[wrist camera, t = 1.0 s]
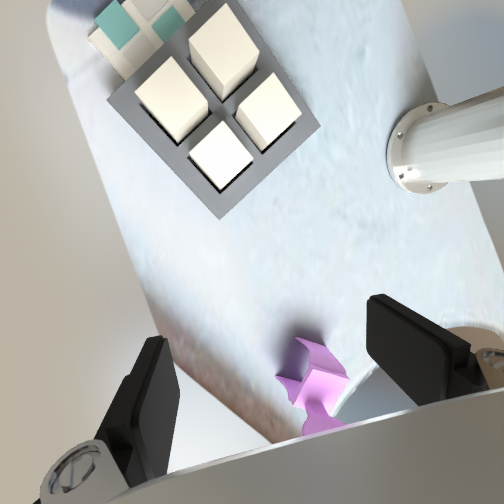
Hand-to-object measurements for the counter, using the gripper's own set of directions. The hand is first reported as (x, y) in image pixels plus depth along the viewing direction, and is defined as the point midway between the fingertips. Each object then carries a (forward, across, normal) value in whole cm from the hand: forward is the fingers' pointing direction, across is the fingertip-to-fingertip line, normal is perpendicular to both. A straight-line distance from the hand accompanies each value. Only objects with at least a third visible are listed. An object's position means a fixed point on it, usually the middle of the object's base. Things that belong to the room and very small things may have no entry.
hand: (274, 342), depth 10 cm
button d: (+21, +4, -16) cm, 27 cm away
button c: (+21, -1, -20) cm, 30 cm away
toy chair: (+24, -9, +23) cm, 34 cm away
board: (+24, +2, -18) cm, 30 cm away
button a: (+21, -5, -15) cm, 26 cm away
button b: (+21, 0, -11) cm, 24 cm away
